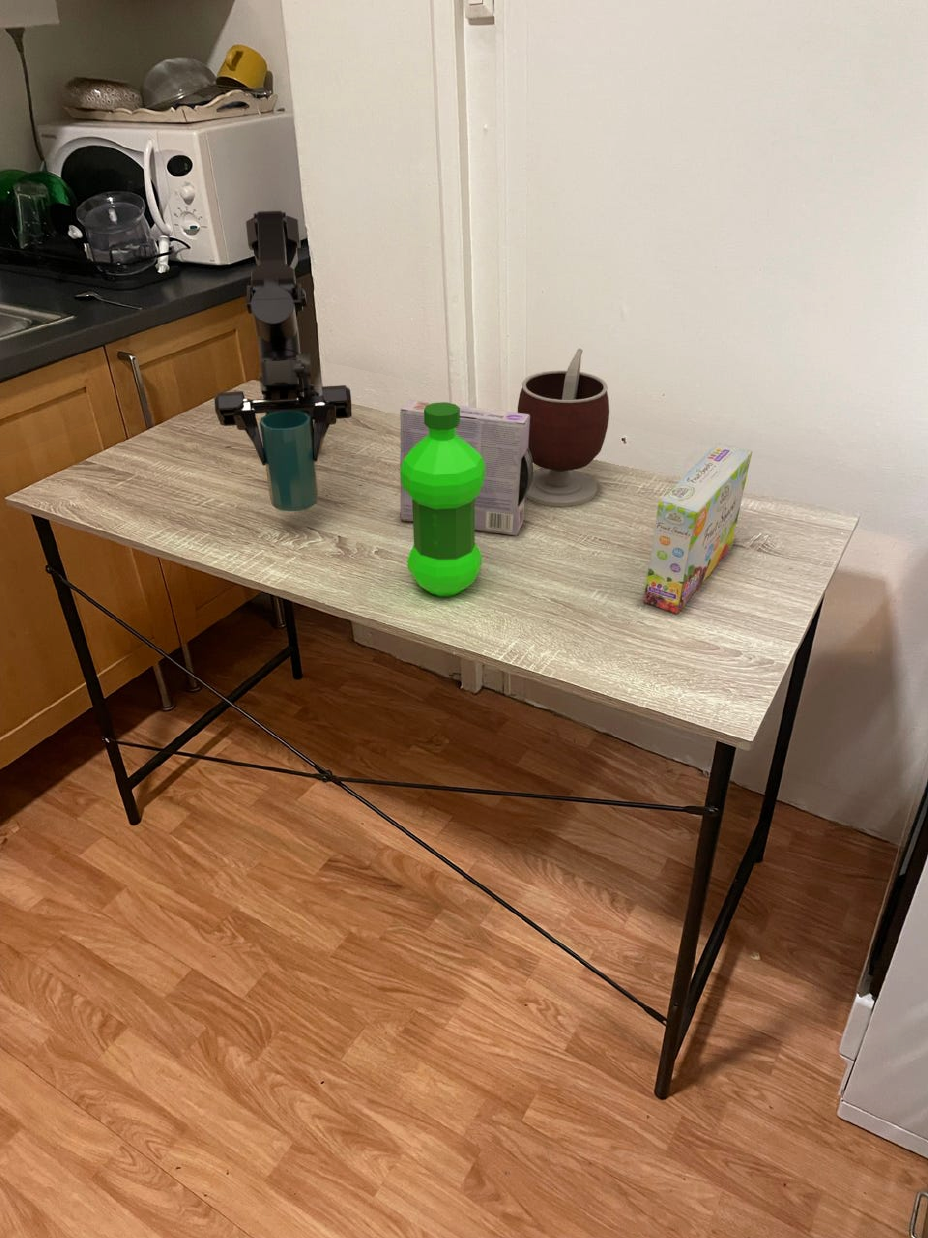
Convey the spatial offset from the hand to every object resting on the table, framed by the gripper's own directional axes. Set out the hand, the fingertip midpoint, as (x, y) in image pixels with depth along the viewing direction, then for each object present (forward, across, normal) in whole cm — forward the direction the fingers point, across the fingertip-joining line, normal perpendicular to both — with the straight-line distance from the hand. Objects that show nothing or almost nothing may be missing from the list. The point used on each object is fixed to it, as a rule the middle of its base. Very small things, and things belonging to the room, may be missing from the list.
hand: (289, 462), depth 129 cm
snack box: (+22, +53, -6) cm, 58 cm away
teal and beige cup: (+4, 0, +6) cm, 7 cm away
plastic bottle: (+21, +19, -4) cm, 29 cm away
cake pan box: (+9, +25, +8) cm, 28 cm away
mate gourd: (+2, +42, +14) cm, 44 cm away
